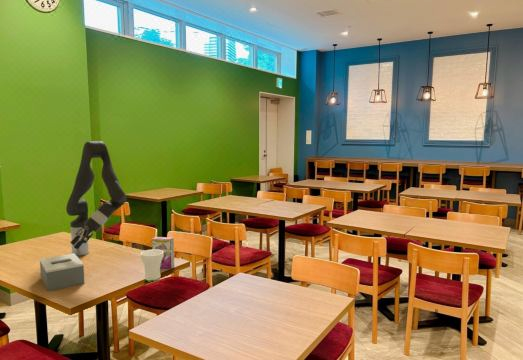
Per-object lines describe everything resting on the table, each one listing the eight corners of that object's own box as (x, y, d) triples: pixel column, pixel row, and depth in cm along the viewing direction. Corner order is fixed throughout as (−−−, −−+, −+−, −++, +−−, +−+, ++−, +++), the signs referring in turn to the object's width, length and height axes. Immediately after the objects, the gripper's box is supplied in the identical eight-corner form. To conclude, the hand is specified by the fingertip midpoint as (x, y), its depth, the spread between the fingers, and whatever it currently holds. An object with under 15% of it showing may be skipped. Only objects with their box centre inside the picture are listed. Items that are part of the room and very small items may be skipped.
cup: (157, 273, 202) (156, 247, 200) (168, 279, 194) (167, 252, 192) (137, 279, 194) (136, 252, 192) (147, 285, 186) (147, 257, 184)
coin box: (41, 278, 194) (39, 259, 193) (75, 271, 204) (74, 253, 203) (47, 291, 179) (46, 270, 177) (84, 283, 188) (83, 263, 187)
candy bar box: (151, 268, 210) (151, 239, 208) (155, 264, 215) (154, 236, 213) (171, 268, 209) (171, 239, 207) (174, 265, 214) (174, 237, 212)
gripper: (87, 214, 202) (64, 238, 196) (94, 219, 191) (70, 245, 185) (98, 222, 206) (76, 246, 200) (105, 227, 194) (82, 253, 189)
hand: (73, 246), depth 193 cm, fingers open, 8 cm apart
